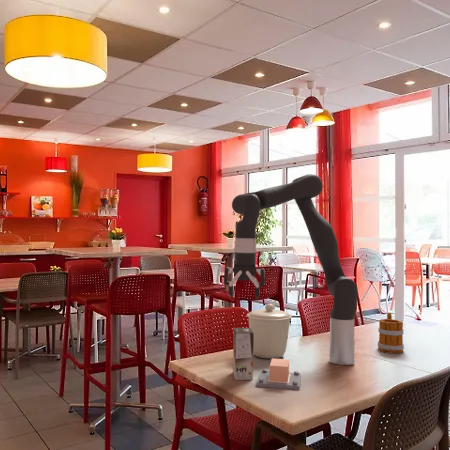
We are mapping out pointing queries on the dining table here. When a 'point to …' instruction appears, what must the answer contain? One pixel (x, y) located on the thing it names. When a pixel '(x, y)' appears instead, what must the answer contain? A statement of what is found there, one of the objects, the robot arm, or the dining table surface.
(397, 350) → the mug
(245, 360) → the coffee box
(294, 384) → the plate
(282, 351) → the canister
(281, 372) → the brick
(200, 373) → the dining table surface
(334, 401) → the dining table surface
